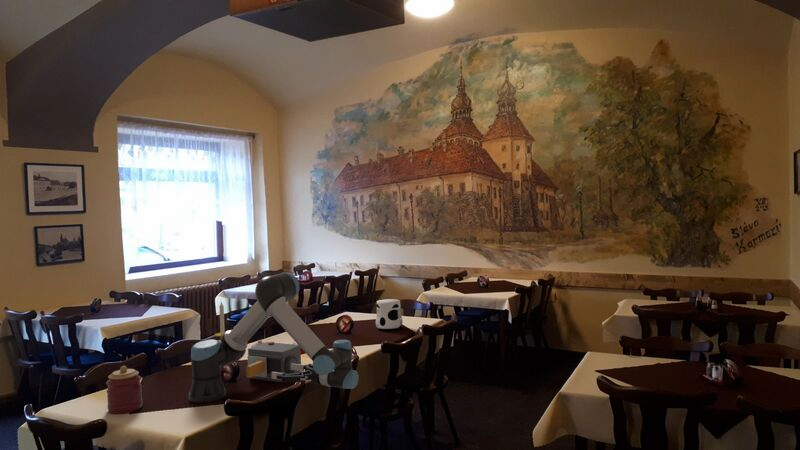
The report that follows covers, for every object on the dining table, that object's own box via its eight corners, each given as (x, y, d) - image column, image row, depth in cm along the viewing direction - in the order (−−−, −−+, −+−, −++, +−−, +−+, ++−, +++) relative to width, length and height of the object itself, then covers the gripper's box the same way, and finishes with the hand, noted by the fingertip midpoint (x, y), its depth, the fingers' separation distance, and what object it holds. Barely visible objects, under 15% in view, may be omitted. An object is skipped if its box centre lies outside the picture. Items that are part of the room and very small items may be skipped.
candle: (213, 366, 294) (210, 303, 292) (214, 361, 303) (211, 300, 302) (233, 364, 296) (231, 301, 295) (234, 359, 306) (231, 299, 305)
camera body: (285, 383, 261) (284, 351, 260) (248, 378, 270) (246, 347, 270) (304, 374, 274) (303, 343, 274) (267, 370, 284) (266, 340, 283)
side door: (250, 384, 254) (249, 364, 254) (232, 381, 259) (231, 362, 258) (267, 376, 265) (266, 357, 265) (250, 374, 269) (249, 355, 269)
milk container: (372, 327, 375) (372, 300, 375) (398, 324, 381) (397, 298, 380) (380, 332, 359) (379, 304, 358) (406, 330, 364) (405, 301, 364)
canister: (148, 402, 241) (146, 361, 240) (134, 413, 228) (132, 369, 227) (116, 404, 240) (114, 362, 240) (101, 415, 227) (99, 371, 227)
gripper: (306, 394, 229) (263, 387, 238) (339, 376, 251) (299, 371, 260) (305, 375, 228) (263, 370, 237) (338, 359, 251) (298, 355, 260)
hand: (281, 370), depth 249 cm, fingers open, 13 cm apart
